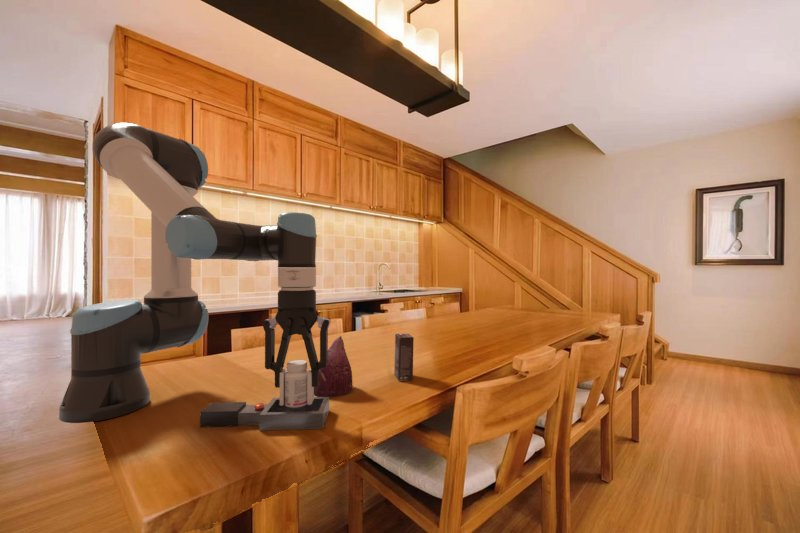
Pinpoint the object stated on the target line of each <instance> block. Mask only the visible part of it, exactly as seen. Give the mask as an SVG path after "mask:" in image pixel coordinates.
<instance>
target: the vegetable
mask: <svg viewBox="0 0 800 533" xmlns="http://www.w3.org/2000/svg"><path fill="white" fill-rule="evenodd" d="M318 362H320V360H318ZM352 372H353V371H352V366H351V363H350V360H349V358H348V355H347V353H346V349H345V342H344V340H343V338H342V335H339V337H337V338H336V339H334V340H333V342H332V344H331V345H330V346H329V347H328V363H327V365H326V367H325V368H322V369H319V383H318V385H317V387H314V397H329V398H331V397H332V398H335V397H341V396H346V395H349V394H351V393H352V392H353V386H354V385H353V373H352Z"/></svg>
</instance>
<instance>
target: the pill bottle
mask: <svg viewBox="0 0 800 533" xmlns="http://www.w3.org/2000/svg"><path fill="white" fill-rule="evenodd" d="M286 369H287V373H286V374H285V405H286V406H287V407H291V408H297V407H302V406H305V405H306V404H307V372H308V371H309V370H307V369H308V361H307V360H304V359H302V360H301V359H299V360H298V359H297V360H296V359H295V360H290V361H288V362H287V363H286Z"/></svg>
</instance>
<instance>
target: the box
mask: <svg viewBox="0 0 800 533" xmlns="http://www.w3.org/2000/svg"><path fill="white" fill-rule="evenodd" d="M394 337H395V338H394V373H393V375H394V376H395V377H396V379H397V381H399V382H401V381H402V382H405V381H413V380H414V376H413V375H414V336H412V335H411V334H409V333H395V336H394Z"/></svg>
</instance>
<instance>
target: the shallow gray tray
mask: <svg viewBox="0 0 800 533" xmlns="http://www.w3.org/2000/svg"><path fill="white" fill-rule="evenodd" d="M329 411H330V397H321V396H314V400H313V402H312V404H311V405H307V404H306V405H305V406H302V407H297V408H291V407H287V406H286V405H285V404H284V405H280V397H272V398H271V400H270V401H269V402H268V403H267V404H265V403H262V402H260V403H259V402H258V403H256V404H247V401H235V402H234V401H231V402H230V401H229V402H222V401H220V402H218V401H217V402H210V403H209V404H208V405H207V406H206V407H204V408H203V409H201V411H200V412H199V428H220V427H221V428H222V427H223V428H224V427H227V428H228V427H238V426H259V428H258V429H259V431H279V430H280V431H283V430H285V431H286V430H287V431H289V430H291V431H292V430H322V429H324V426H325V424H326V421H327V417H328V415H329Z"/></svg>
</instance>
